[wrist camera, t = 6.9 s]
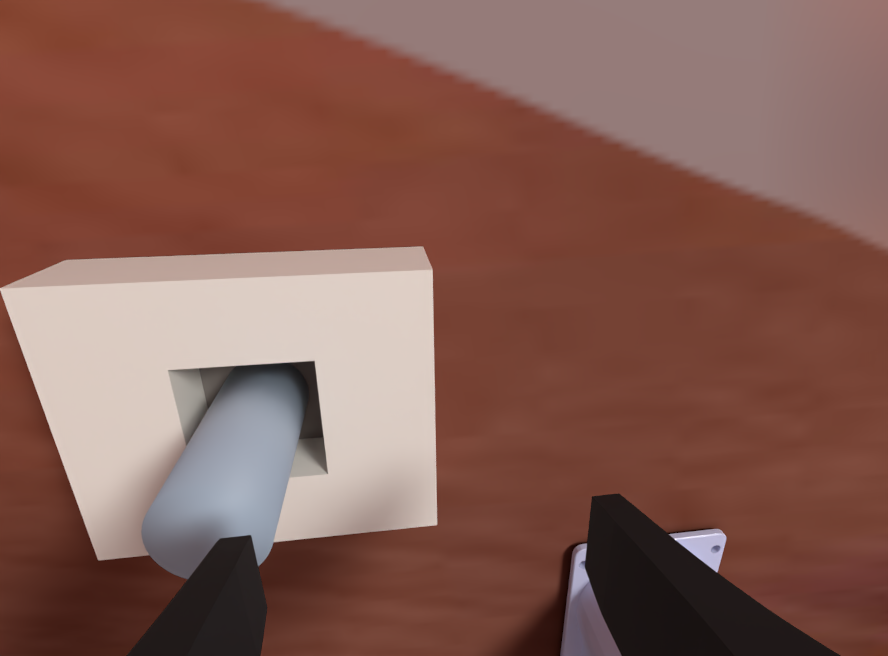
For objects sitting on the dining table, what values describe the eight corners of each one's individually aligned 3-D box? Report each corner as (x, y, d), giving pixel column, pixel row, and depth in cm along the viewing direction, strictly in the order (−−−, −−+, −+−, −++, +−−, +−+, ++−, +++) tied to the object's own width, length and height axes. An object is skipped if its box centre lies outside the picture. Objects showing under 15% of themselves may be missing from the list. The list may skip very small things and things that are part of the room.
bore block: (428, 471, 22) (437, 525, 19) (138, 497, 20) (98, 560, 17) (422, 246, 18) (432, 269, 15) (66, 259, 17) (-1, 288, 14)
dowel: (314, 423, 19) (283, 573, 13) (233, 431, 19) (159, 590, 12) (302, 352, 18) (261, 478, 12) (216, 360, 18) (125, 493, 11)
